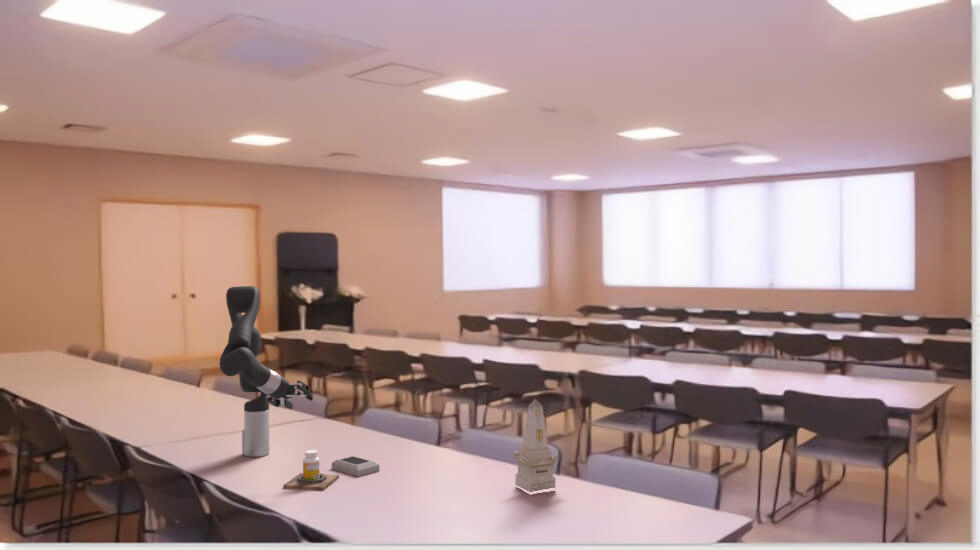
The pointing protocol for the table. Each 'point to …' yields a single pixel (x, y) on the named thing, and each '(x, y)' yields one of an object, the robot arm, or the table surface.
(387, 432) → the table surface
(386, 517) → the table surface
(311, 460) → the supplement bottle
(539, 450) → the miniature monument
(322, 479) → the carrier plate
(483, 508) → the table surface
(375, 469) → the grey flat boxy piece
